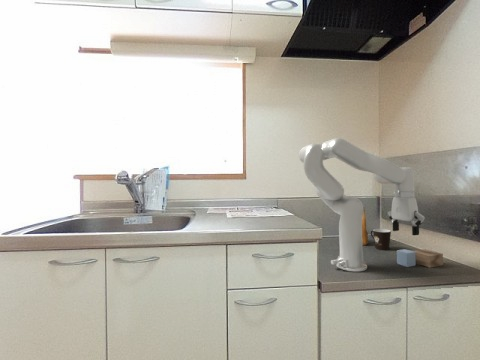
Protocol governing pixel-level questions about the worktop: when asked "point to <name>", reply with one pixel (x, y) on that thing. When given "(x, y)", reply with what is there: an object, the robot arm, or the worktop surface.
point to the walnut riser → (428, 258)
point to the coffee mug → (381, 238)
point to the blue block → (406, 258)
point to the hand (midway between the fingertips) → (405, 232)
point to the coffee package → (364, 230)
